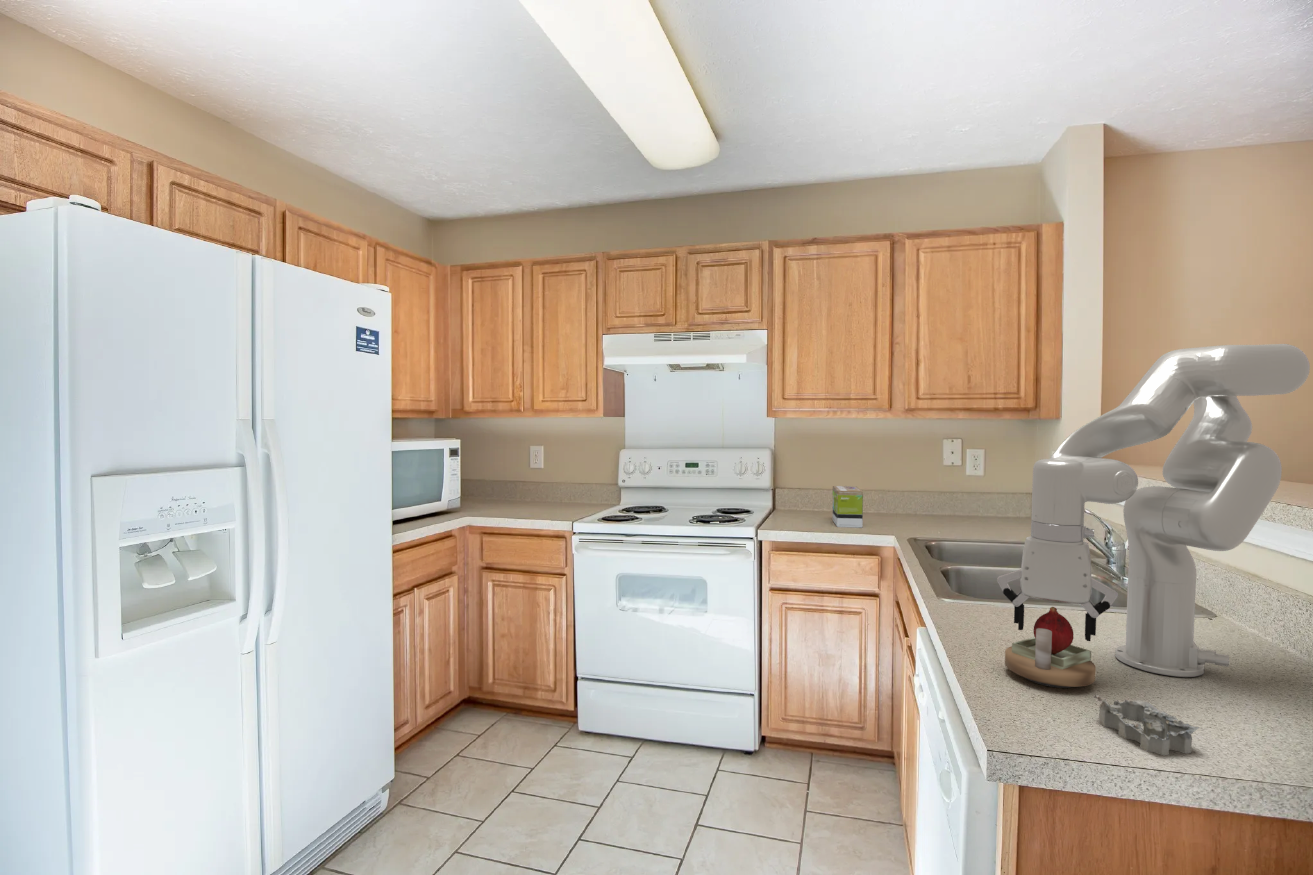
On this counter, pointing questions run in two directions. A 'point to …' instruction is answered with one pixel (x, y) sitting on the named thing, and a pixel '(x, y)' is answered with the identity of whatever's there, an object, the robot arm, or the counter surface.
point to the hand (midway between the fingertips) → (1053, 633)
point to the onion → (1056, 629)
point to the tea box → (848, 506)
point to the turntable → (1050, 661)
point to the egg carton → (1147, 726)
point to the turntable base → (1048, 684)
